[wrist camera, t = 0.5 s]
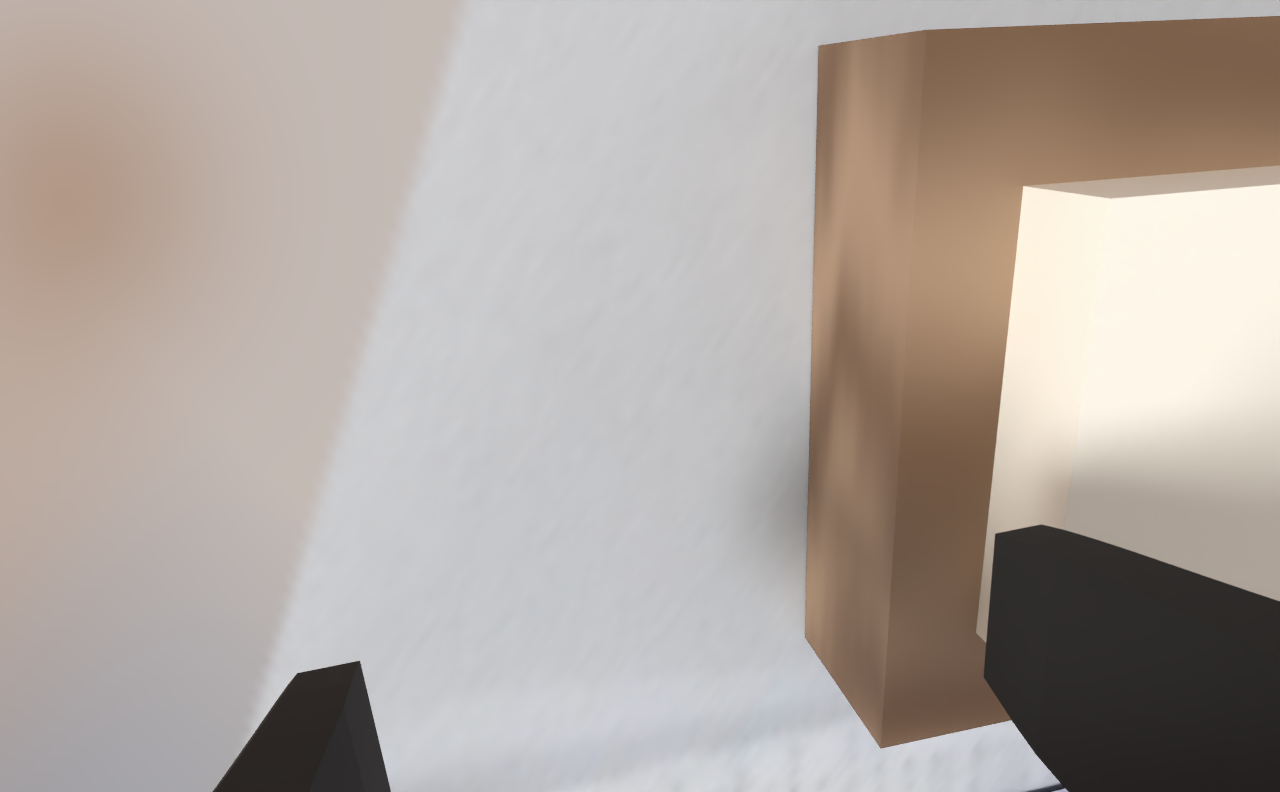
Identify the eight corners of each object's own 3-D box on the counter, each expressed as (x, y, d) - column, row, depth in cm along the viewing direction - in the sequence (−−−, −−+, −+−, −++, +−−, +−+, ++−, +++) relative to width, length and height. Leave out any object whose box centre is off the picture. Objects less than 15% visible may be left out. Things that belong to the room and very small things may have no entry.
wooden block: (1201, 563, 24) (1341, 648, 20) (804, 637, 21) (880, 748, 18) (1313, 24, 19) (1525, 6, 15) (819, 45, 17) (926, 29, 13)
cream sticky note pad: (1220, 585, 18) (1307, 639, 17) (975, 632, 17) (1039, 696, 15) (1314, 162, 15) (1432, 170, 13) (1023, 186, 14) (1110, 198, 12)
